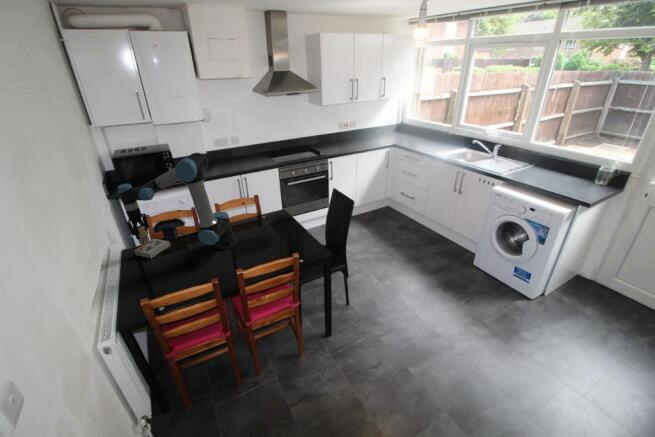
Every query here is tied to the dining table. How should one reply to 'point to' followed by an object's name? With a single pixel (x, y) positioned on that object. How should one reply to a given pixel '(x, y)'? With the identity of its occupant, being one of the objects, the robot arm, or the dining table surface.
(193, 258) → the dining table surface
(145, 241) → the peg
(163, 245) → the socket block
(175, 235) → the box
